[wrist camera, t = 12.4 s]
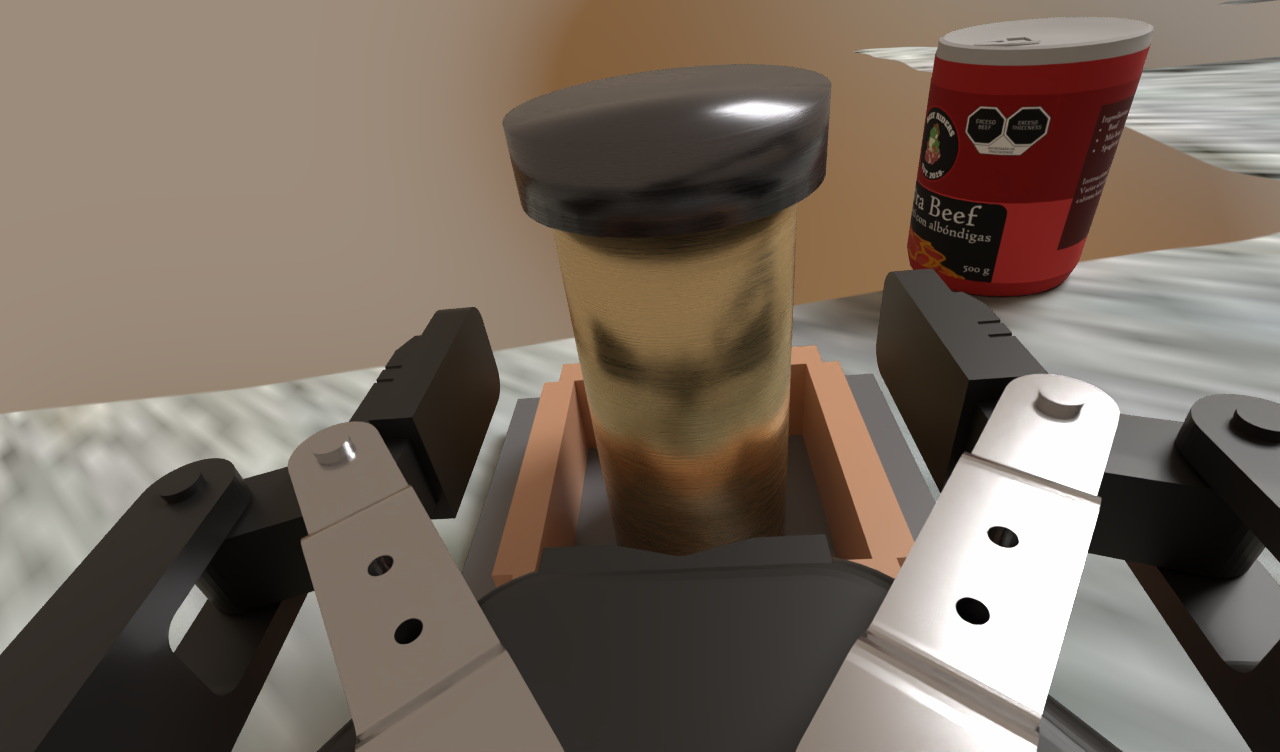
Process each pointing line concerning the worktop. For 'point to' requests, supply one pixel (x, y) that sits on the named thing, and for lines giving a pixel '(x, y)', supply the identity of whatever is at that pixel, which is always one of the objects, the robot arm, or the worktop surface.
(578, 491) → the open box
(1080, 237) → the canned food
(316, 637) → the worktop surface
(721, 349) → the spice jar
